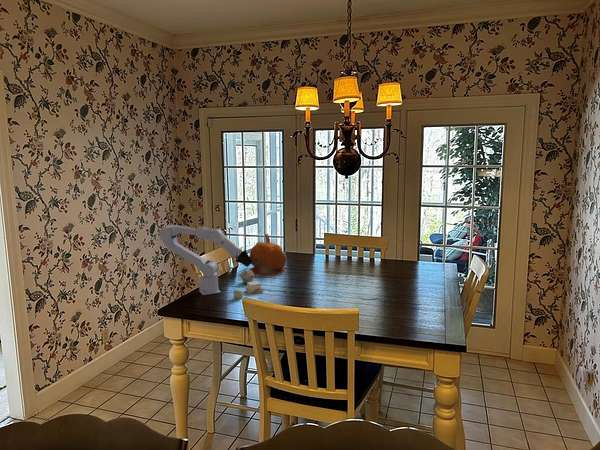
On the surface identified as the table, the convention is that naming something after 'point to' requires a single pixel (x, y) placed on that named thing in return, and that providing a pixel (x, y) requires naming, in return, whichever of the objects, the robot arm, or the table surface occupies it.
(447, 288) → the table surface
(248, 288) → the birch base block
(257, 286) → the cream block
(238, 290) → the green capsule
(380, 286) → the table surface
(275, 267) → the pumpkin
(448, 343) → the table surface
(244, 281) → the game die
